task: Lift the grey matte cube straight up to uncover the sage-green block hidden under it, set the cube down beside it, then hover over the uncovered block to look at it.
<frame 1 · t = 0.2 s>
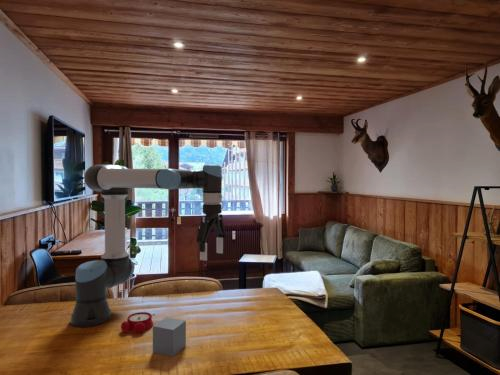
hand: (211, 256, 135), 28 cm above the table, tool pointing down, fingers open, 13 cm apart
grey matte cube: (169, 349, 116), on the table
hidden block: (169, 343, 116), in the grey matte cube
alarm clock: (137, 329, 132), on the table
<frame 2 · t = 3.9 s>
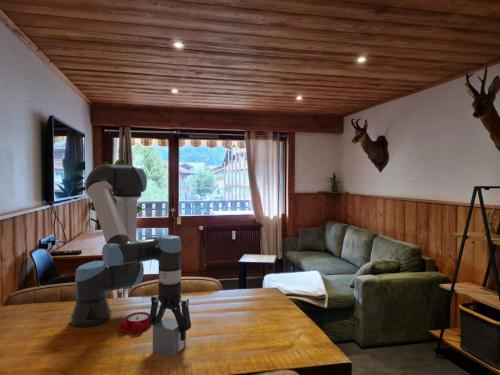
hand: (169, 346, 116), 1 cm above the table, tool pointing down, fingers closed on grey matte cube, 8 cm apart
grey matte cube: (169, 349, 116), on the table, touching gripper
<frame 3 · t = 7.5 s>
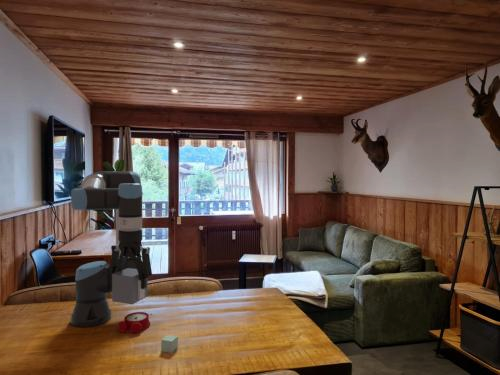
hand: (130, 296, 113), 19 cm above the table, tool pointing down, fingers closed on grey matte cube, 8 cm apart
grey matte cube: (130, 298, 113), point 18 cm above the table, touching gripper
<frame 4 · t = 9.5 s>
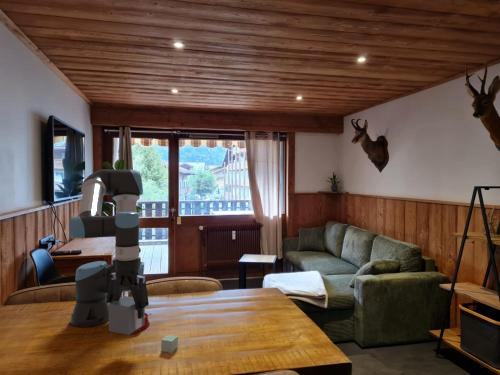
hand: (127, 325, 113), 9 cm above the table, tool pointing down, fingers closed on grey matte cube, 8 cm apart
grey matte cube: (127, 327, 113), point 9 cm above the table, touching gripper
when the fingers open (2 cm above the table, at t = 11.3 s): grey matte cube drops 1 cm, on the table.
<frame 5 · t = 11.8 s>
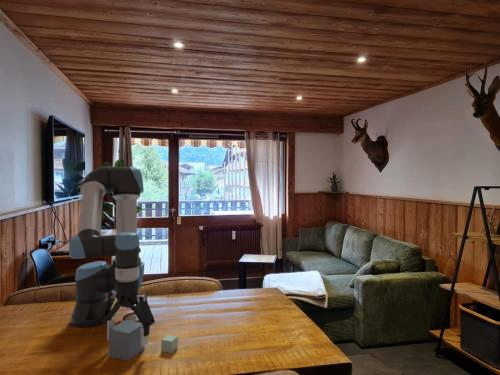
hand: (127, 341, 113), 4 cm above the table, tool pointing down, fingers open, 13 cm apart
grey matte cube: (127, 352, 113), on the table
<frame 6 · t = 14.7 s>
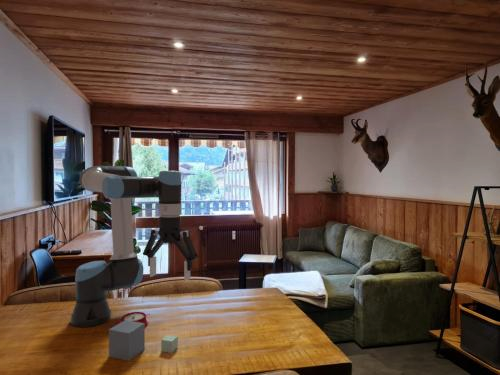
hand: (169, 277, 115), 25 cm above the table, tool pointing down, fingers open, 13 cm apart
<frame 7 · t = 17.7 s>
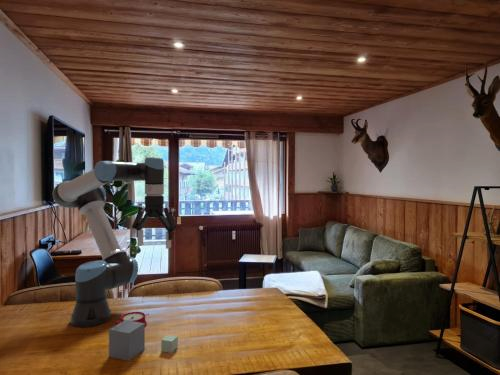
hand: (154, 246, 139), 31 cm above the table, tool pointing down, fingers open, 13 cm apart
at the end: grey matte cube inside the target area (0.0 cm from its centre), on the table; grey matte cube tilted 0°; the gripper is holding nothing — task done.
